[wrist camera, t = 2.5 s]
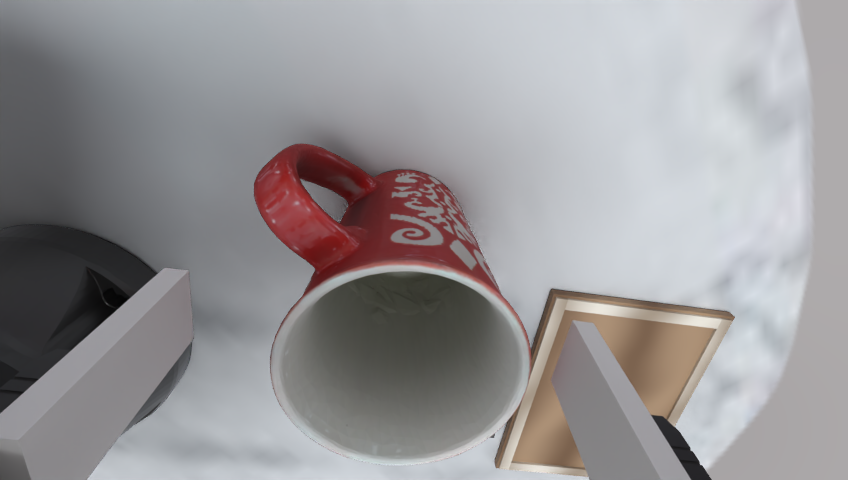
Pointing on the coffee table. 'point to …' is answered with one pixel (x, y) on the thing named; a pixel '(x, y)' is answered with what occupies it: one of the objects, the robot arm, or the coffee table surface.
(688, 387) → the board
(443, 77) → the coffee table surface
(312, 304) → the mug
